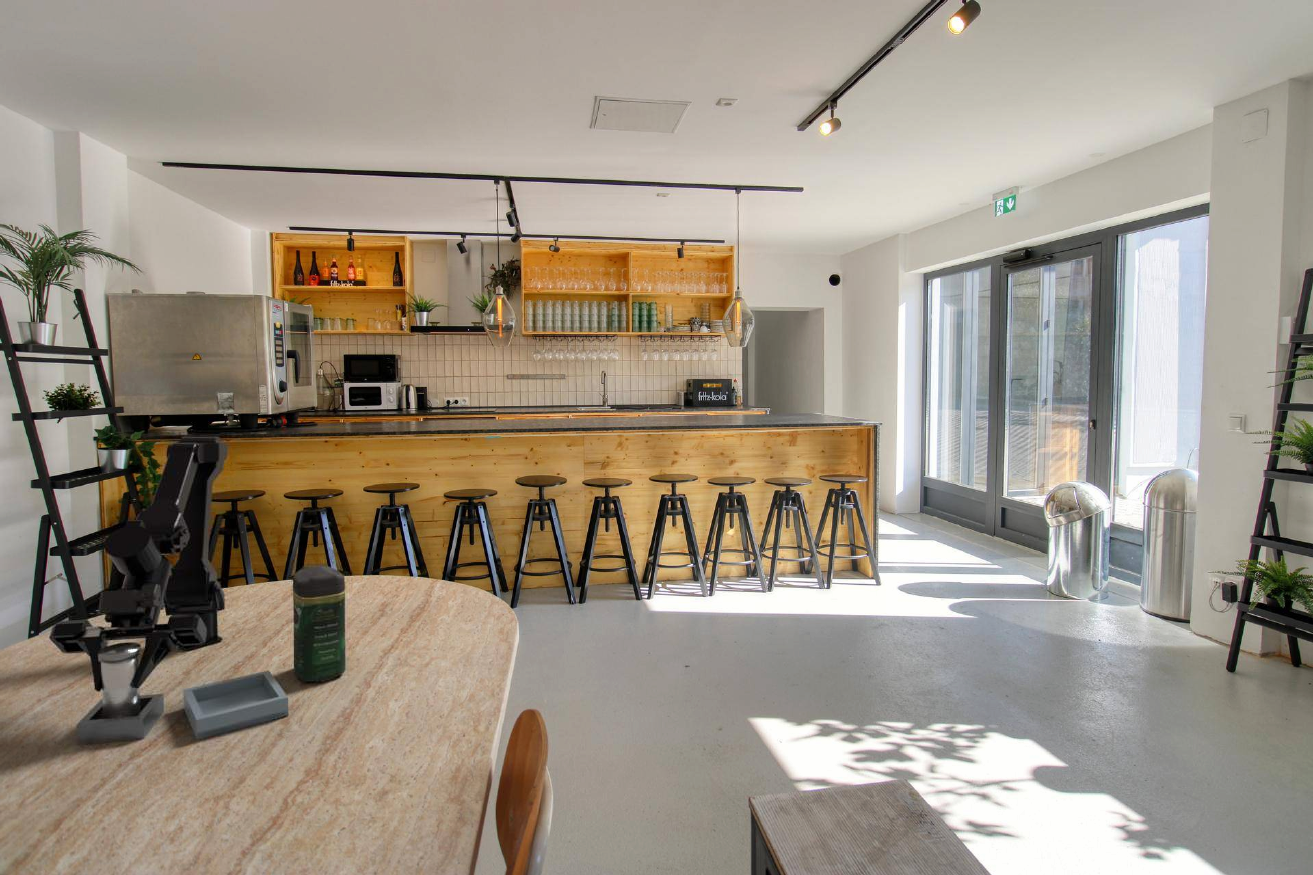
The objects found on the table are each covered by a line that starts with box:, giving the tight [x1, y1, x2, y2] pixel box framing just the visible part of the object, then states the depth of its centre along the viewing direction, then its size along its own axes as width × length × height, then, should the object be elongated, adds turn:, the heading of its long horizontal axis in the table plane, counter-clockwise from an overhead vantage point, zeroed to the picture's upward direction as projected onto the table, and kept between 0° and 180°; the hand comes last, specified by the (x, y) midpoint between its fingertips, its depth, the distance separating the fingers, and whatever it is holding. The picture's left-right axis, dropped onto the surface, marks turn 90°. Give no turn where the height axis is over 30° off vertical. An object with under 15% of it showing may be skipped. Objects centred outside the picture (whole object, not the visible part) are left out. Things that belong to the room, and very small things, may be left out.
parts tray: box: [182, 670, 289, 741], centre depth 113 cm, size 12×12×3 cm
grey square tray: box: [76, 693, 165, 746], centre depth 107 cm, size 8×8×3 cm
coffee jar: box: [292, 564, 347, 682], centre depth 127 cm, size 10×8×19 cm
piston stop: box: [98, 641, 142, 719], centre depth 107 cm, size 5×5×12 cm
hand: (116, 688), depth 105 cm, fingers closed on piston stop, 4 cm apart
